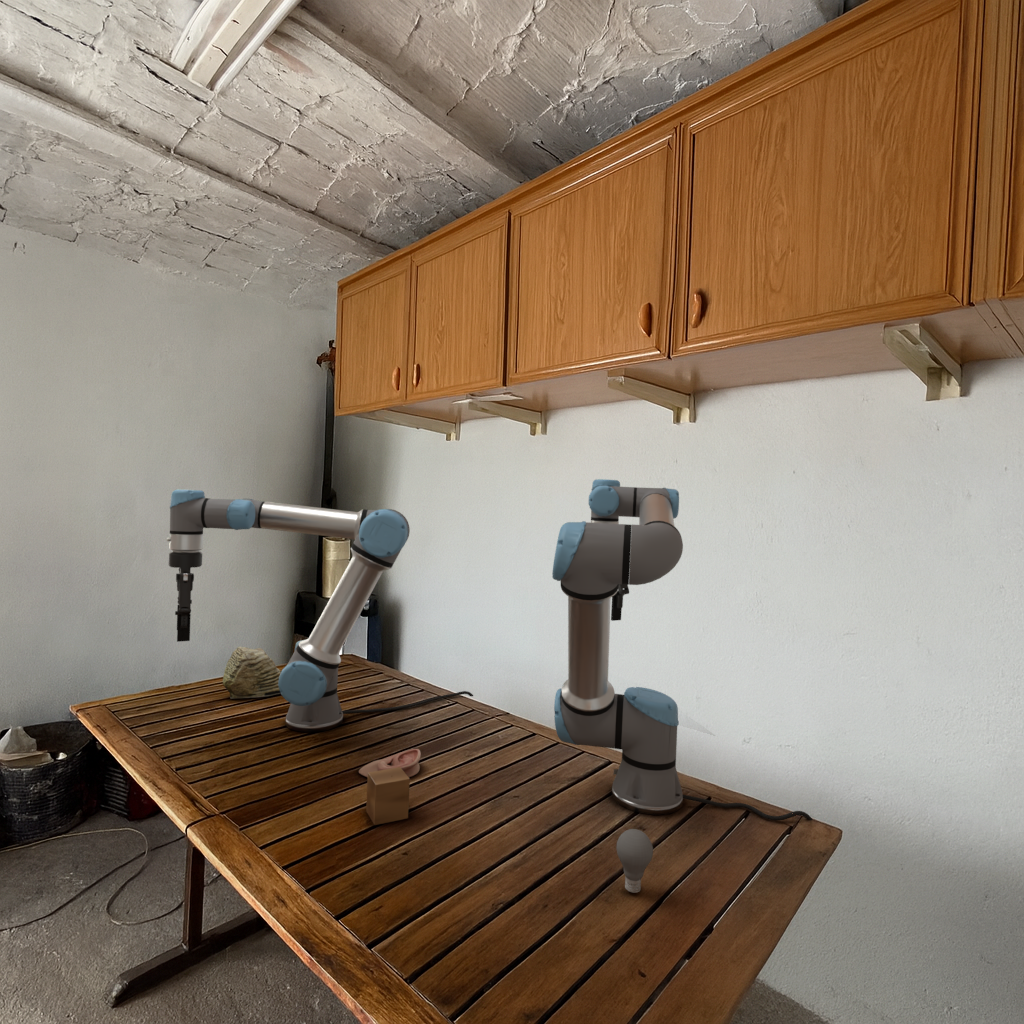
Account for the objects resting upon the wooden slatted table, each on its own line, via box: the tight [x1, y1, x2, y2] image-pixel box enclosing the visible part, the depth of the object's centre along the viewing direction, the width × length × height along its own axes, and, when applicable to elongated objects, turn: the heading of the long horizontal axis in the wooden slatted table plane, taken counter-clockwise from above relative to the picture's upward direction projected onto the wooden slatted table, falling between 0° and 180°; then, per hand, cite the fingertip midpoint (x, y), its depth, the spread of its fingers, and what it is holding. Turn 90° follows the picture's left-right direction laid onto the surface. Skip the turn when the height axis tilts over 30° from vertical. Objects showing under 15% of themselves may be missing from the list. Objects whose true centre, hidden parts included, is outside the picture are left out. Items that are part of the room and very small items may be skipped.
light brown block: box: [365, 767, 411, 826], centre depth 127 cm, size 6×7×8 cm
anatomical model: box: [358, 748, 422, 779], centre depth 147 cm, size 13×4×12 cm
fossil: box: [222, 646, 281, 699], centre depth 198 cm, size 9×18×15 cm, turn 132°
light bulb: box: [615, 828, 654, 894], centre depth 106 cm, size 6×6×10 cm
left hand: (182, 635), depth 159 cm, fingers open, 13 cm apart
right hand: (600, 615), depth 171 cm, fingers open, 13 cm apart
